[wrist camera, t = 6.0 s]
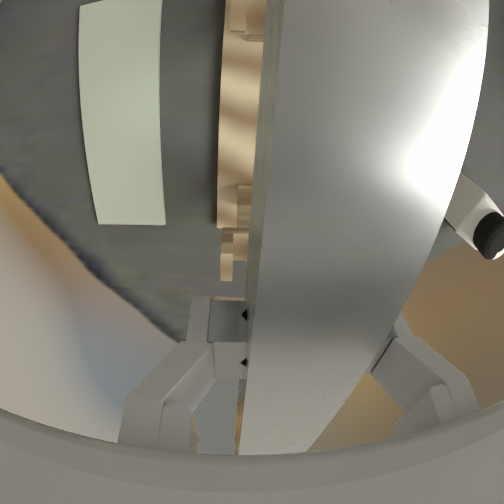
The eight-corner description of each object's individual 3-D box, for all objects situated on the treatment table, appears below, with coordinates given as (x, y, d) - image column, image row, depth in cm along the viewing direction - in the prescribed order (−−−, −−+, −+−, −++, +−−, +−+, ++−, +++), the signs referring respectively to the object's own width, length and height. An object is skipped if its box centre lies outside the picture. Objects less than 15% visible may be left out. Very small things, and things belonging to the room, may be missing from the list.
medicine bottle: (431, 206, 40) (474, 254, 30) (458, 170, 36) (507, 212, 27) (454, 225, 42) (493, 272, 33) (479, 193, 39) (523, 235, 29)
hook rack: (227, -11, 23) (218, -55, 11) (302, -5, 24) (345, -40, 12) (217, 224, 41) (209, 307, 29) (277, 226, 41) (292, 309, 29)
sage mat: (82, 6, 22) (80, 6, 21) (162, -9, 23) (161, -10, 22) (100, 221, 40) (98, 224, 39) (166, 222, 40) (165, 225, 40)
